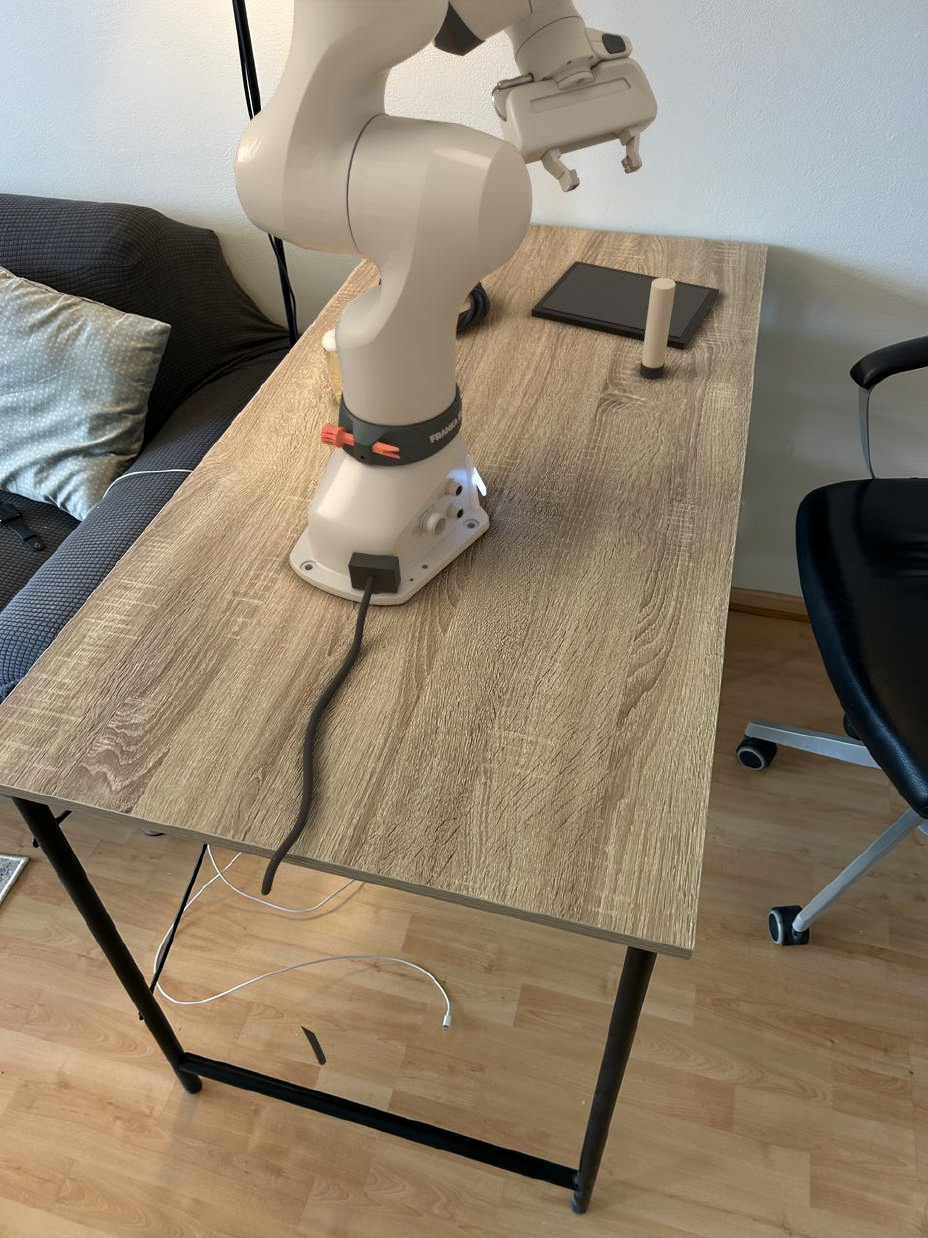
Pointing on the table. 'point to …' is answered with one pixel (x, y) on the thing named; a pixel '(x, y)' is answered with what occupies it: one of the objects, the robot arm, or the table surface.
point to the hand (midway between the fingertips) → (604, 179)
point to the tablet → (621, 303)
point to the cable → (473, 308)
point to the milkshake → (332, 362)
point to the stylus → (657, 328)
